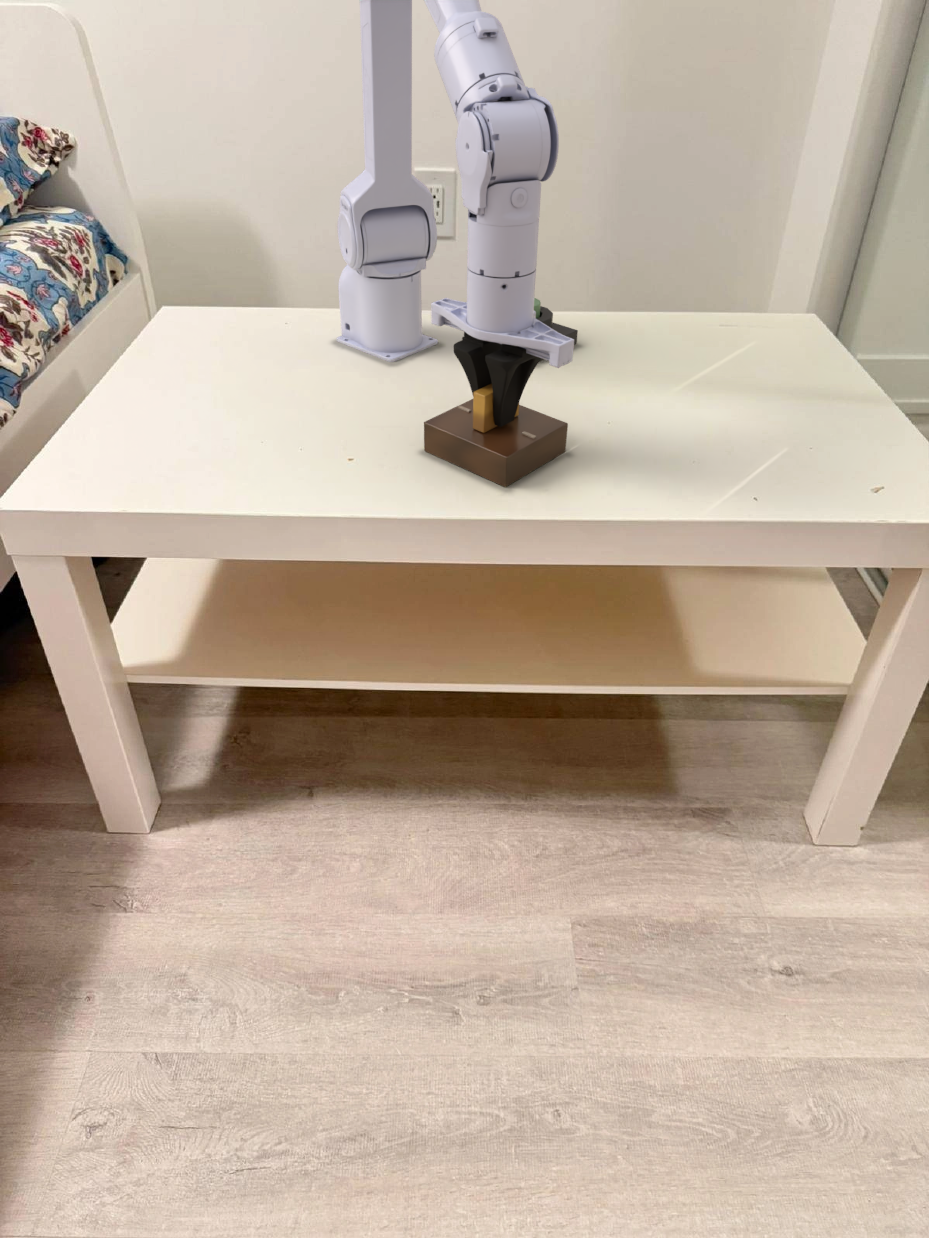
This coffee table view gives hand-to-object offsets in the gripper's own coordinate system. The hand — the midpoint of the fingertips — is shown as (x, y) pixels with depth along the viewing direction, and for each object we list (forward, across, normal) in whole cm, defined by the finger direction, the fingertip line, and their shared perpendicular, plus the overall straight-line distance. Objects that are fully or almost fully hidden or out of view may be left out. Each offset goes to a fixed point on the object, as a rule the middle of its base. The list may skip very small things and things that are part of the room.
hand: (496, 419), depth 81 cm
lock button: (0, +15, -23) cm, 27 cm away
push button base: (+3, +15, -23) cm, 28 cm away
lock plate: (+3, 0, 0) cm, 3 cm away
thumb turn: (0, 0, 0) cm, 0 cm away
